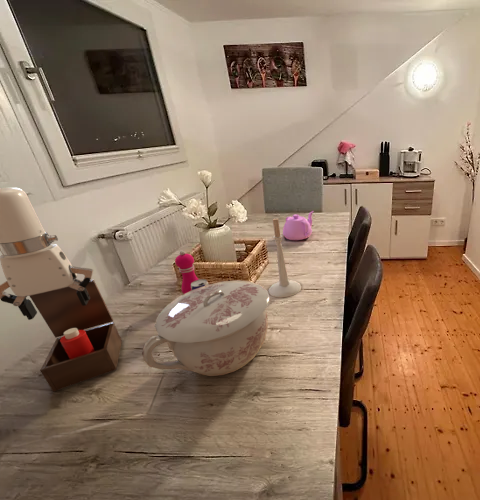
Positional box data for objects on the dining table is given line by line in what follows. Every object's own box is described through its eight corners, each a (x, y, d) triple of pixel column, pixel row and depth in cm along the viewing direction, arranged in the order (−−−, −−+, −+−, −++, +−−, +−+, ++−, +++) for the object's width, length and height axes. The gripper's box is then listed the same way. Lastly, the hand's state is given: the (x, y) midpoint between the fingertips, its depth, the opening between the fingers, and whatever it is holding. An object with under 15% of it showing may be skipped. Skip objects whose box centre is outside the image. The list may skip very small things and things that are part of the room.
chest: (117, 371, 76) (106, 349, 73) (54, 394, 70) (39, 370, 66) (122, 342, 86) (113, 321, 83) (68, 359, 80) (56, 338, 77)
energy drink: (204, 318, 96) (196, 288, 92) (195, 313, 99) (186, 284, 94) (218, 310, 101) (210, 281, 96) (209, 306, 103) (201, 277, 99)
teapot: (326, 235, 170) (325, 213, 165) (297, 245, 156) (295, 221, 151) (304, 227, 184) (302, 207, 179) (275, 236, 170) (272, 214, 165)
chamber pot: (278, 318, 95) (269, 263, 87) (276, 383, 70) (264, 315, 62) (189, 332, 90) (171, 275, 82) (153, 407, 65) (122, 337, 57)
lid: (93, 280, 76) (95, 272, 80) (28, 295, 70) (34, 285, 74) (112, 321, 83) (114, 312, 86) (55, 337, 77) (59, 327, 80)
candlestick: (299, 279, 120) (291, 211, 108) (303, 295, 108) (294, 220, 97) (268, 284, 117) (257, 215, 105) (269, 300, 105) (256, 224, 94)
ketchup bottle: (73, 377, 73) (52, 339, 68) (83, 363, 78) (64, 327, 73) (95, 372, 75) (76, 334, 70) (104, 359, 79) (86, 323, 74)
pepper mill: (209, 295, 110) (196, 249, 102) (191, 304, 104) (176, 256, 97) (198, 291, 114) (186, 245, 106) (180, 299, 108) (166, 252, 100)
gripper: (80, 232, 69) (107, 292, 76) (-24, 249, 61) (17, 314, 67) (73, 241, 63) (102, 305, 70) (-43, 261, 55) (3, 331, 62)
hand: (60, 309), depth 69 cm, fingers open, 9 cm apart
